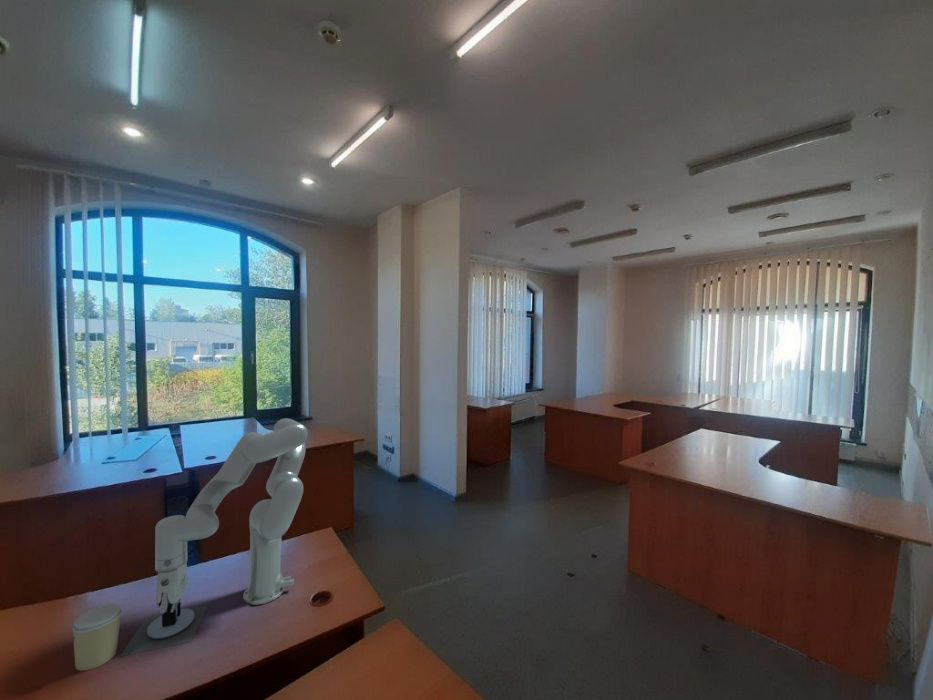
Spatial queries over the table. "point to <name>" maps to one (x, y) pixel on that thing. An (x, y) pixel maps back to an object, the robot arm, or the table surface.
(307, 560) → the table surface
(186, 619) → the lid
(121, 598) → the table surface
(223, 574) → the table surface
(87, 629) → the coffee cup
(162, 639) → the mat
